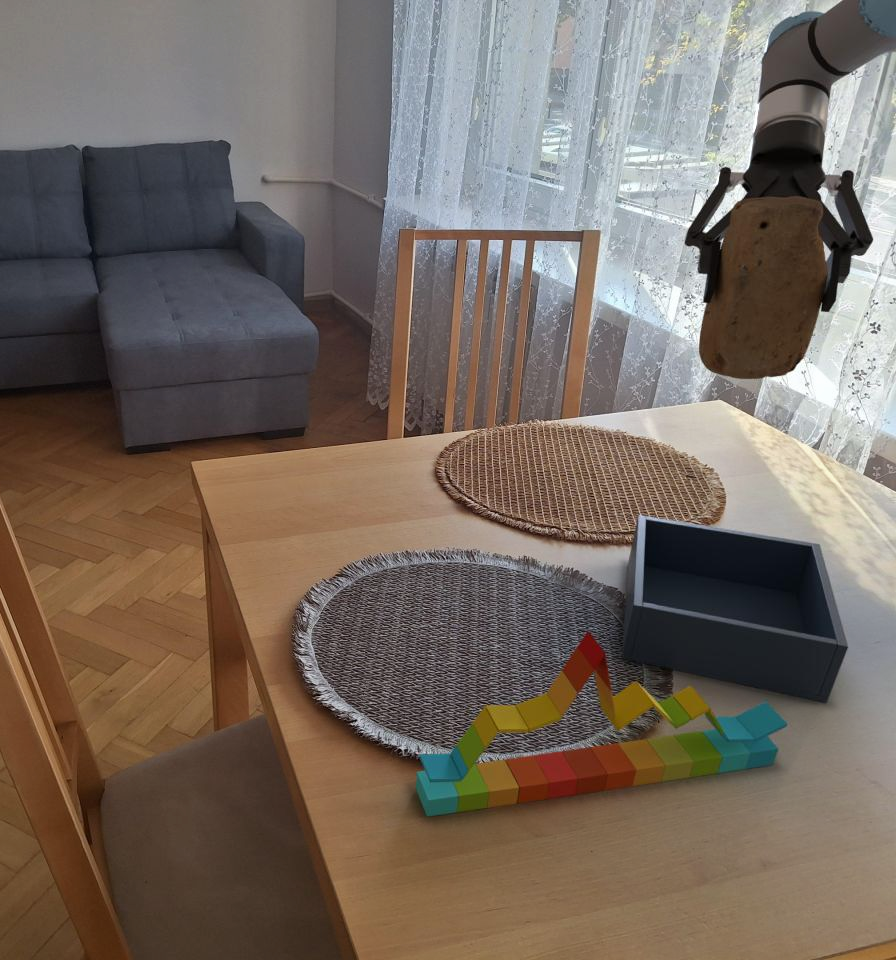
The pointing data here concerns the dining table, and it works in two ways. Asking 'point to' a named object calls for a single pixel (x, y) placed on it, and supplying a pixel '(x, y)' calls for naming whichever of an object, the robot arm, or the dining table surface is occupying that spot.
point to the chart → (594, 768)
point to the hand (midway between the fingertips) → (767, 301)
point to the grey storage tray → (732, 608)
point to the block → (765, 289)
